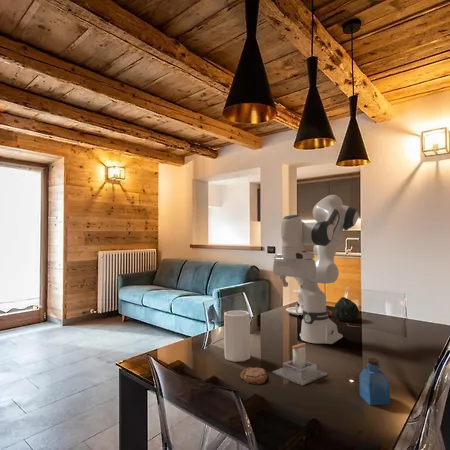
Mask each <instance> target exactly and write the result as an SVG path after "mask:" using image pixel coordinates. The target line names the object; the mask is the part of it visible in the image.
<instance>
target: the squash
mask: <svg viewBox="0 0 450 450" xmlns="http://www.w3.org/2000/svg"><path fill="white" fill-rule="evenodd" d="M333 314H334V316H335V318H336V319H337V320H338V321H341V320H342V321H343V322H346V321H347V322H348V321H349V322H355V321H356V320H357V319H358V316H359V314H360V311H359V307H358V305H357V304H356V303H355V302H354V301H353V300H351V299H349V298H347V297H344V296H341V297H340V298H339V300H337V302H336V303H335V304H334V306H333Z"/></svg>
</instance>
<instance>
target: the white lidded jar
mask: <svg viewBox="0 0 450 450" xmlns="http://www.w3.org/2000/svg"><path fill="white" fill-rule="evenodd" d="M306 346H307V344H306V343H304V342H301V343H299V344H295V345H292V346H291V350H292V360H293V366H294V367H296V368H299V369H303V368H305V367H306V361H307V359H306V357H307V356H306Z"/></svg>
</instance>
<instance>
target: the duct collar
mask: <svg viewBox="0 0 450 450" xmlns="http://www.w3.org/2000/svg"><path fill="white" fill-rule="evenodd" d="M272 374H274V375H276V376H279V377H281V378H283V379H286V380H287V381H291V382H293V383H295V384H298V385H301V386H303V387H304V386H306V385H307V384H310V383H313V382H315V381H317V380H319V379H322V378H324V377H326V376H328V372H325V371H322V370H319V369H317V364H316V363H312V362H310V361H307V360H306V367H305V368H303V369H299V368H296V367H294V366H293V359H291V360H289V361H285V362H283V363H282V367H281V368H278V369H275V370H272Z"/></svg>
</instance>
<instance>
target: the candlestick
mask: <svg viewBox="0 0 450 450" xmlns="http://www.w3.org/2000/svg"><path fill="white" fill-rule="evenodd" d="M297 286H298V289H294V290H292V292H294V293H297V294H298V296H297V298H296V302H297V304H295V306H292V307H291V306H290V307H287V308H286V309H285V311H287V312H288V313H290V315H291V314H292V315H295V316H299V315H301V316H300V317H303V316H302V315H303V314H302V312H303V295H302V290H301V288H300V285H299V283H298V282H297ZM298 304H299V305H298Z"/></svg>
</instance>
